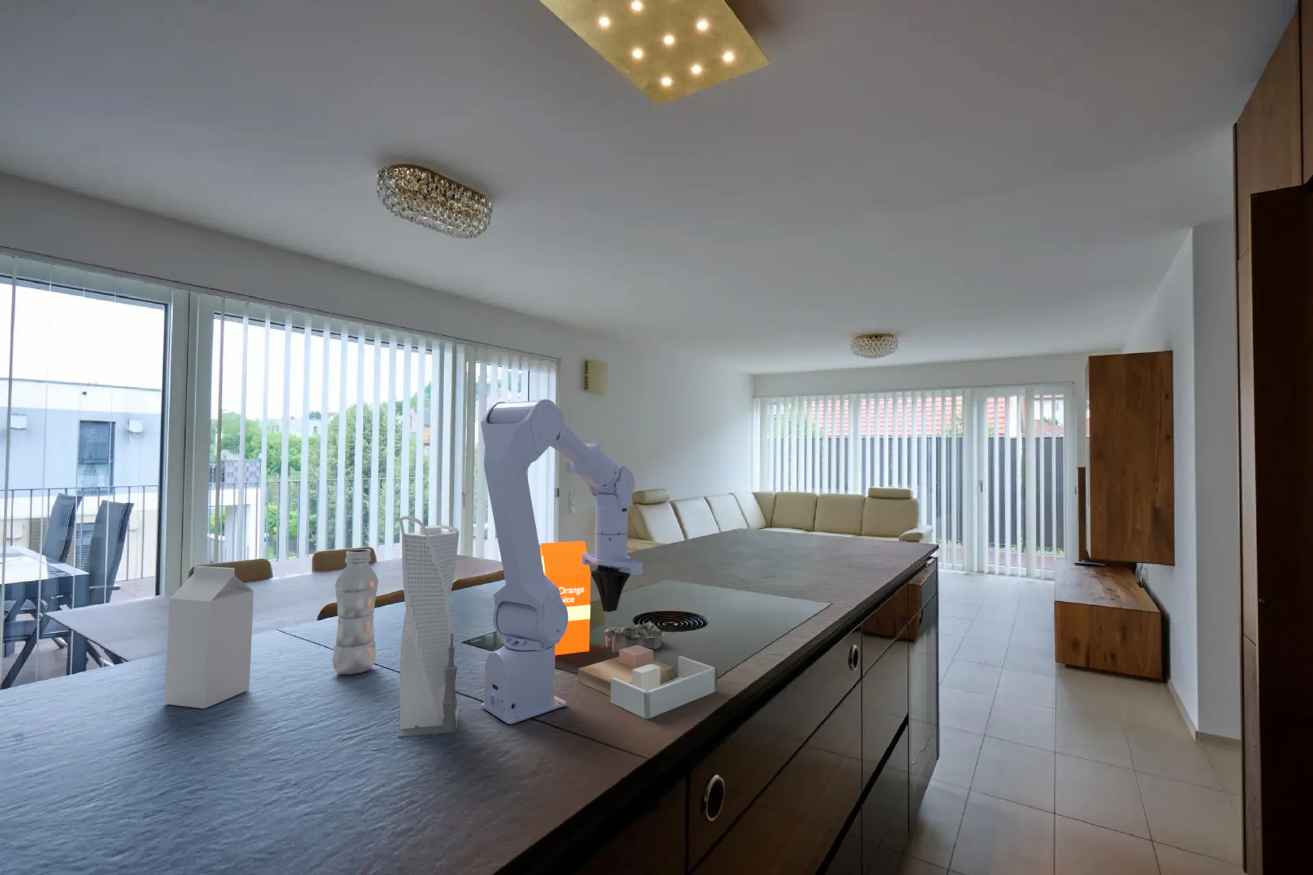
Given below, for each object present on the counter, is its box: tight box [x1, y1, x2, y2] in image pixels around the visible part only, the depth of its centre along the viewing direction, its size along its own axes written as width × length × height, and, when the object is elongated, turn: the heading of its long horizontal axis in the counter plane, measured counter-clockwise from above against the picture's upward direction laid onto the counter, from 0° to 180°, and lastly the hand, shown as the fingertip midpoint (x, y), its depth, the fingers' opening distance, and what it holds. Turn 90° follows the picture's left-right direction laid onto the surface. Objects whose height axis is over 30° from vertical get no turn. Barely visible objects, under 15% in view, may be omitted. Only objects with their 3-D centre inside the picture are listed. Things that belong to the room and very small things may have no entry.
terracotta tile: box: [618, 645, 654, 668], centre depth 98 cm, size 4×4×2 cm
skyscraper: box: [397, 515, 460, 738], centre depth 80 cm, size 8×8×28 cm
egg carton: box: [603, 621, 666, 653], centre depth 113 cm, size 11×8×4 cm
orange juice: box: [540, 540, 592, 656], centre depth 112 cm, size 8×9×20 cm
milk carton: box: [164, 565, 255, 709], centre depth 86 cm, size 7×7×19 cm
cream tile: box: [632, 664, 660, 691], centre depth 88 cm, size 4×4×2 cm
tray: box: [610, 655, 718, 720], centre depth 89 cm, size 15×8×4 cm, turn 134°
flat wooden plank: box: [577, 656, 675, 697], centre depth 95 cm, size 12×10×2 cm
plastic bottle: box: [331, 548, 379, 675], centre depth 97 cm, size 6×7×20 cm
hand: (610, 610), depth 103 cm, fingers closed
